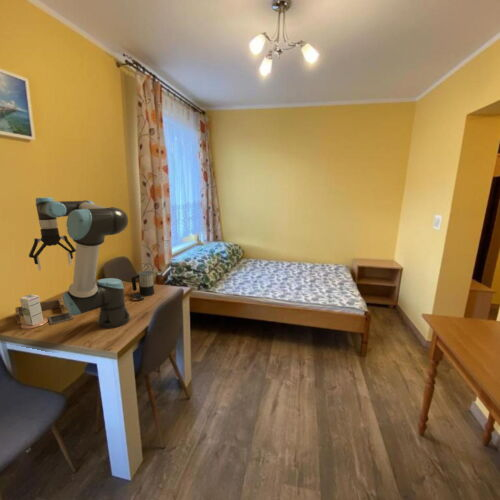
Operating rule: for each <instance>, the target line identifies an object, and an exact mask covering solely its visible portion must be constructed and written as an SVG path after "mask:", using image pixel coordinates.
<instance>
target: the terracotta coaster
mask: <svg viewBox="0 0 500 500" xmlns="http://www.w3.org/2000/svg"><path fill="white" fill-rule="evenodd" d="M48 322H49V319H48V317H43V321H42V322H40V323H38V324H36V325H33V326H32V325H27V324H25V322H23V323H22V324H21V325H20V328H21V329H23V330H30V329H31V330H32V329H35V328H40V327H42V326H44V325H46V324H47V323H48Z"/></svg>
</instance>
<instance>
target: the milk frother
mask: <svg viewBox="0 0 500 500" xmlns="http://www.w3.org/2000/svg"><path fill="white" fill-rule="evenodd" d="M136 279H138V286H139V293H132V294H131V297H132V298H134V299H136V300H144V299H145V297H150V296H153V295H155V288H154V287H155V285H154V271H152V270H143V271H139V272H138V274H135V275H133V276H132V277H131V285H132V291H134V292H136V291H137V289H138V288H137V281H136Z"/></svg>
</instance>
